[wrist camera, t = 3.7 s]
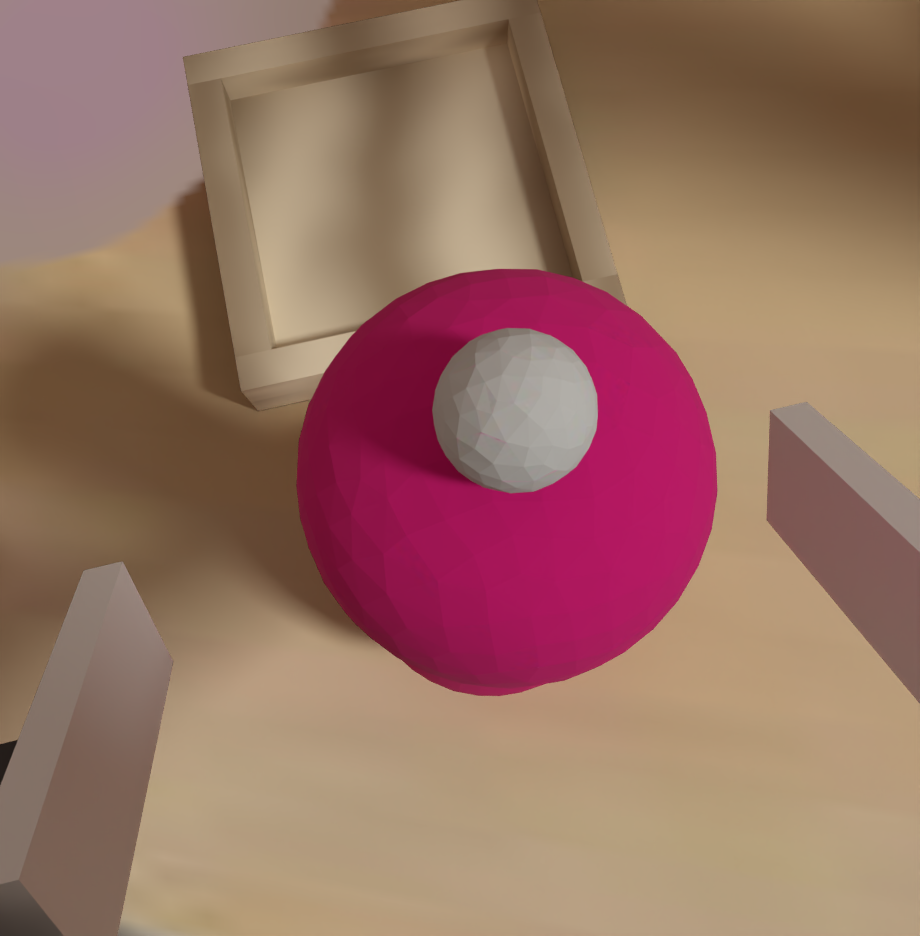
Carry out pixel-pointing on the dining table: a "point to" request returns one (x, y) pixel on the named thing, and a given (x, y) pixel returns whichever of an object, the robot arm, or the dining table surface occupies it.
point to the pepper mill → (506, 479)
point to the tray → (384, 175)
